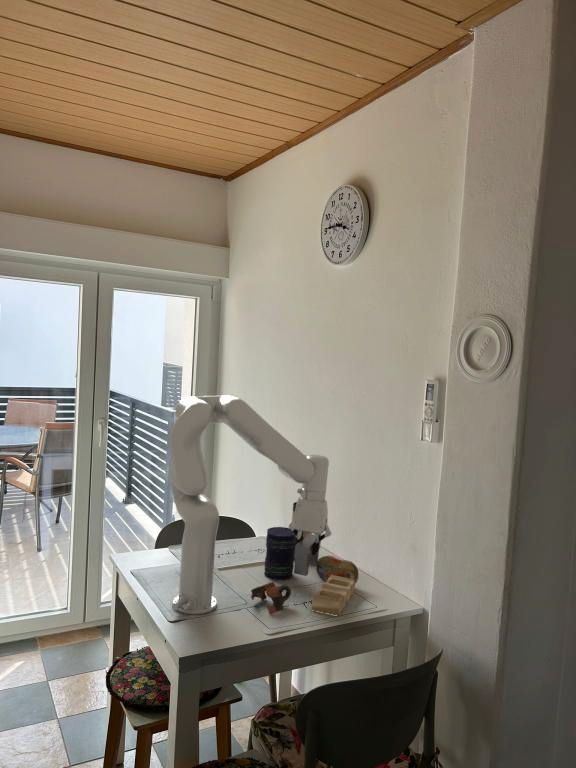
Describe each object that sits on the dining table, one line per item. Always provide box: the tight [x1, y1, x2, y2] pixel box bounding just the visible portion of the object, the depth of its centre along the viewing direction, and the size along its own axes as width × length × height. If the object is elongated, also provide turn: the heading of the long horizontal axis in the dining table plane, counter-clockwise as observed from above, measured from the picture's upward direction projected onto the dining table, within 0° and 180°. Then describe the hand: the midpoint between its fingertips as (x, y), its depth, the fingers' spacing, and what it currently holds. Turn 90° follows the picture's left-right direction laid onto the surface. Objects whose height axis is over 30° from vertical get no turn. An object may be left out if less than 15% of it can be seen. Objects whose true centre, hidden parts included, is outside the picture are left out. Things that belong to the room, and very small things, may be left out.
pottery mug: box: [250, 581, 292, 615], centre depth 173 cm, size 12×10×8 cm
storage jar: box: [263, 526, 295, 581], centre depth 197 cm, size 10×10×15 cm
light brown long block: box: [311, 575, 356, 616], centre depth 180 cm, size 20×8×4 cm, turn 160°
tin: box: [315, 555, 359, 584], centre depth 194 cm, size 15×3×8 cm, turn 54°
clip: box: [293, 533, 322, 577], centre depth 184 cm, size 14×4×9 cm, turn 160°
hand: (307, 552), depth 184 cm, fingers closed on clip, 4 cm apart
